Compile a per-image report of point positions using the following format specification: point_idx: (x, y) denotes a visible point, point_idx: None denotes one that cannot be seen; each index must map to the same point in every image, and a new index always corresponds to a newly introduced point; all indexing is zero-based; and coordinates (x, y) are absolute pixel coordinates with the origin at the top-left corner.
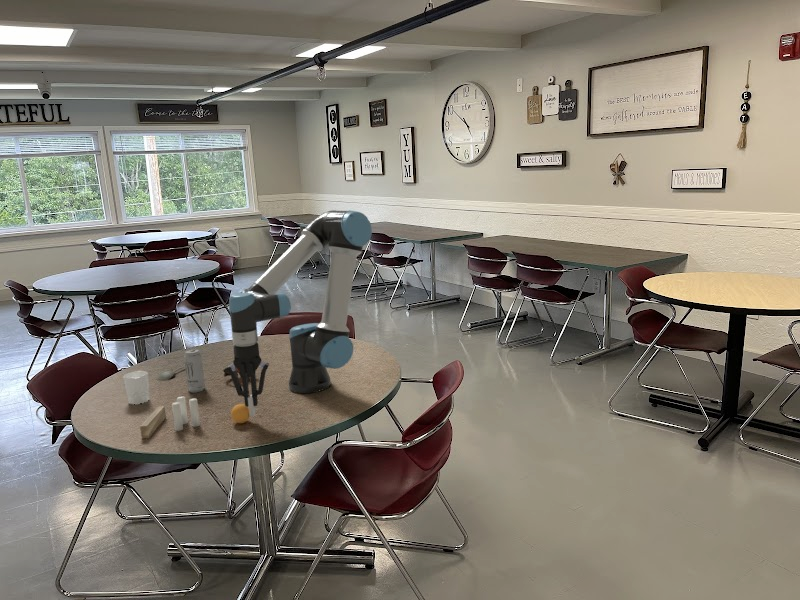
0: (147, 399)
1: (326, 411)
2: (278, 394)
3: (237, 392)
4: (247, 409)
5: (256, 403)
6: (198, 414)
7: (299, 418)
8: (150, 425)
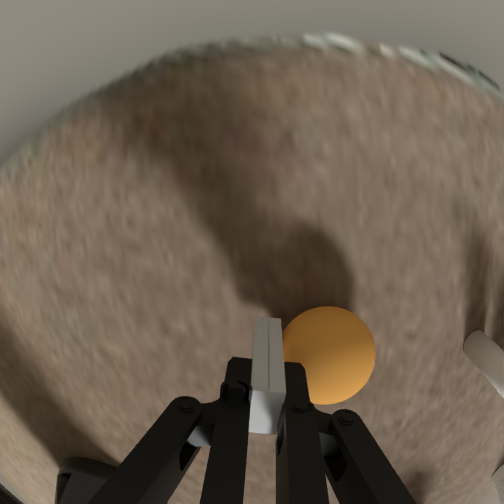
0: (500, 471)
1: (10, 319)
2: (191, 489)
3: (364, 428)
4: (290, 355)
5: (231, 366)
6: (486, 363)
7: (72, 294)
8: None
